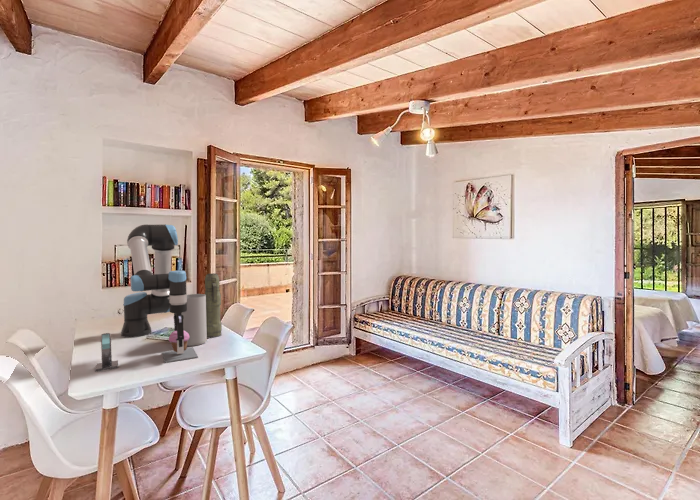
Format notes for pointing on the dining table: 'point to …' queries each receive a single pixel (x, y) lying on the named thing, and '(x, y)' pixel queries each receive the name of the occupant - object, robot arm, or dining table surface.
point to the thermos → (213, 305)
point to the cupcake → (174, 342)
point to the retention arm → (105, 340)
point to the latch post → (106, 360)
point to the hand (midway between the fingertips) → (179, 350)
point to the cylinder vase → (195, 319)
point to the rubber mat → (179, 355)
